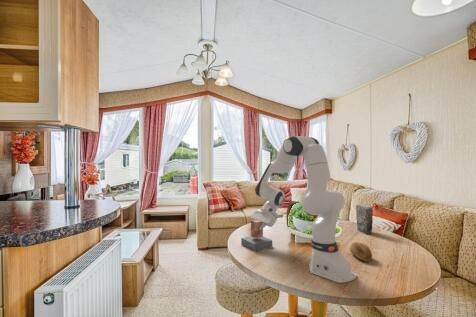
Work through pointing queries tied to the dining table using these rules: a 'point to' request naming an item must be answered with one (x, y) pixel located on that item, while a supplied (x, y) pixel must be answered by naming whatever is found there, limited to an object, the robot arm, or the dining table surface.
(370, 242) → the dining table surface
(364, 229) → the stone block
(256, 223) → the terracotta block
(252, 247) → the base block
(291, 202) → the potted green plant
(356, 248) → the bread roll
